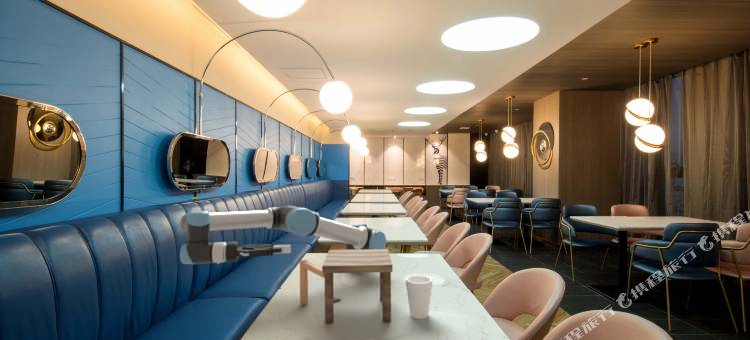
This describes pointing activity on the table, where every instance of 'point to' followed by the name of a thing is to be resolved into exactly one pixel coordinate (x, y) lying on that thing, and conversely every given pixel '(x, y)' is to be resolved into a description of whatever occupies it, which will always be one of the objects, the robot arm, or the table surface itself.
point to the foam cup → (419, 295)
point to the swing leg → (304, 278)
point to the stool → (358, 264)
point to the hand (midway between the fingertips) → (290, 248)
